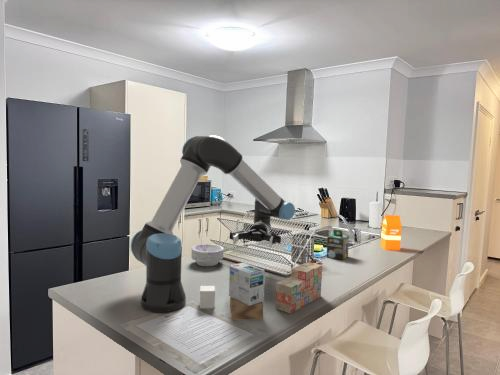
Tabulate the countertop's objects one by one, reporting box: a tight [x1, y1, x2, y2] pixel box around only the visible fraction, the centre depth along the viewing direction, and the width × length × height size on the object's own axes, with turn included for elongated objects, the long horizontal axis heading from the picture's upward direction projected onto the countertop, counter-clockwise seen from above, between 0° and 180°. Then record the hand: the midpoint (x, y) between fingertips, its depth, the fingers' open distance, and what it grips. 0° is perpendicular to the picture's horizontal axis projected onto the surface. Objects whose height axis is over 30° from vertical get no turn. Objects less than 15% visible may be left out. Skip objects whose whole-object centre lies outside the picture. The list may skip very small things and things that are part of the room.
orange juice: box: [380, 214, 402, 251], centre depth 214 cm, size 8×9×20 cm
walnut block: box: [229, 296, 264, 321], centre depth 119 cm, size 10×10×5 cm
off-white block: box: [199, 285, 216, 309], centre depth 124 cm, size 5×5×6 cm
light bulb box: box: [228, 262, 266, 306], centre depth 118 cm, size 11×7×11 cm, turn 43°
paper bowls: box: [190, 243, 225, 267], centre depth 172 cm, size 15×15×8 cm
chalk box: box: [326, 229, 350, 261], centre depth 191 cm, size 9×9×15 cm
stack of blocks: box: [275, 261, 323, 314], centre depth 129 cm, size 21×6×12 cm, turn 141°
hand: (252, 242), depth 133 cm, fingers open, 13 cm apart
